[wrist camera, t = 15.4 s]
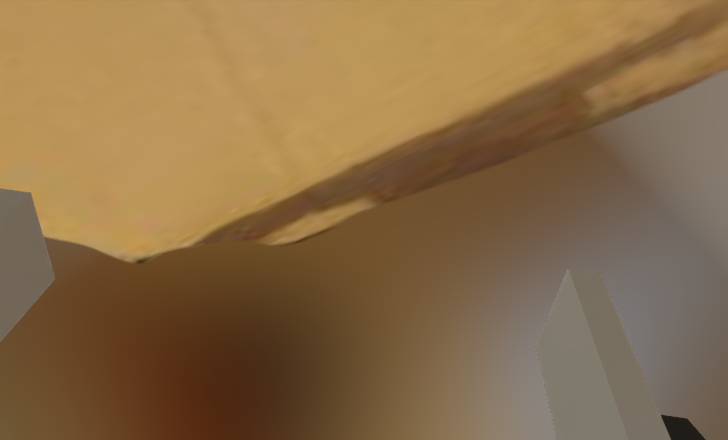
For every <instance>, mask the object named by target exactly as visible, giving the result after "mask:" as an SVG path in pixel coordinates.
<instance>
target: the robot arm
mask: <svg viewBox="0 0 728 440" xmlns="http://www.w3.org/2000/svg"><path fill="white" fill-rule="evenodd" d="M54 280H55V276H54V273H53V269H52V266H51V262H50V259H49V255H48V252H47V248H46V245H45V241H44V238H43V234H42V231H41V227H40V224H39V220H38V217H37V213H36V210H35V206H34V203H33V199H32V196H31V193H28V192H21V191H14V190H7V189H0V341H1V340H2V339H3V338H4V337H5V336H6V335H7V334H8V332H9V331H10V330H11V329H12V328H13V327H14V326H15V324H16V323H17V322H18V321H19V320H20V319H21V318H22V316H23V315H24V314H25V313H26V312H27V311H28V309H29V308H30V307H31V306H32V305H33V304H34V302H35V301H36V300H37V299H38V298H39V297H40V296H41V295H42V293H43V292H44V291H45V290H46V288H48V287H49V285H50V284H51V283H52V282H53V281H54ZM536 351H537V356H538V360H539V365H540V369H541V373H542V377H543V382H544V387H545V391H546V395H547V400H548V404H549V409H550V413H551V417H552V421H553V425H554V430H555V435H556V439H557V440H705V439H704V437H703V436H702V435H701V434H700V433H699V432H698V431H697V429H696V428H695V427H694V426H693V425H692V424H691V423H690V422H689V420H688V419H685V418H679V417H672V416H665V415H660V413H659V410H658V408H657V405H656V403H655V401H654V398H653V396H652V394H651V391H650V389H649V387H648V384H647V382H646V380H645V377H644V375H643V372H642V370H641V368H640V365H639V363H638V361H637V358H636V356H635V354H634V351H633V349H632V347H631V344H630V342H629V340H628V337H627V335H626V332H625V330H624V328H623V325H622V323H621V321H620V318H619V316H618V314H617V311H616V309H615V307H614V304H613V302H612V300H611V297H610V295H609V292H608V290H607V288H606V285H605V283H604V281H603V278H602V276H601V274H600V273H599V272H593V271H585V270H578V269H571V268H568V270H567V272H566V275H565V277H564V280H563V282H562V285H561V287H560V289H559V291H558V294H557V296H556V299H555V301H554V304H553V306H552V309H551V311H550V313H549V316H548V318H547V321H546V323H545V326H544V328H543V330H542V333H541V335H540V338H539V340H538V342H537V345H536Z"/></svg>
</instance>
